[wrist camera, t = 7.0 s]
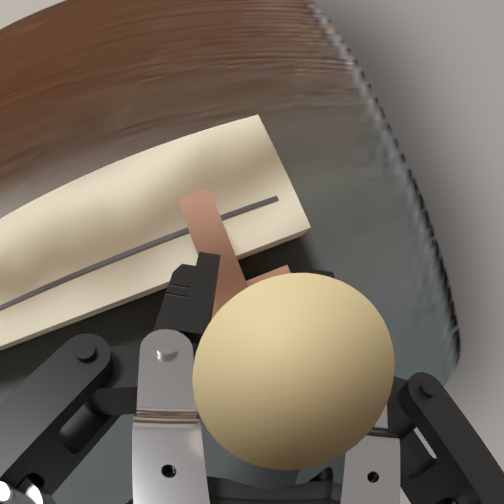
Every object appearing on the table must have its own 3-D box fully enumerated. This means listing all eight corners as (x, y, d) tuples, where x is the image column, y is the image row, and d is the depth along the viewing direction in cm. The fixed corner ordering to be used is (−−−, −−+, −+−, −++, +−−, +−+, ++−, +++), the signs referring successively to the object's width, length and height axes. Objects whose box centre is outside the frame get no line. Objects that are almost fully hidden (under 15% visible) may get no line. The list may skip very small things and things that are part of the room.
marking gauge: (148, 240, 17) (33, 108, 5) (249, 203, 18) (304, 28, 6) (204, 387, 16) (182, 538, 4) (307, 345, 17) (471, 397, 5)
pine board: (-64, 276, 15) (-81, 272, 13) (254, 132, 19) (258, 114, 17) (-45, 367, 14) (-63, 370, 12) (301, 236, 18) (311, 227, 16)
